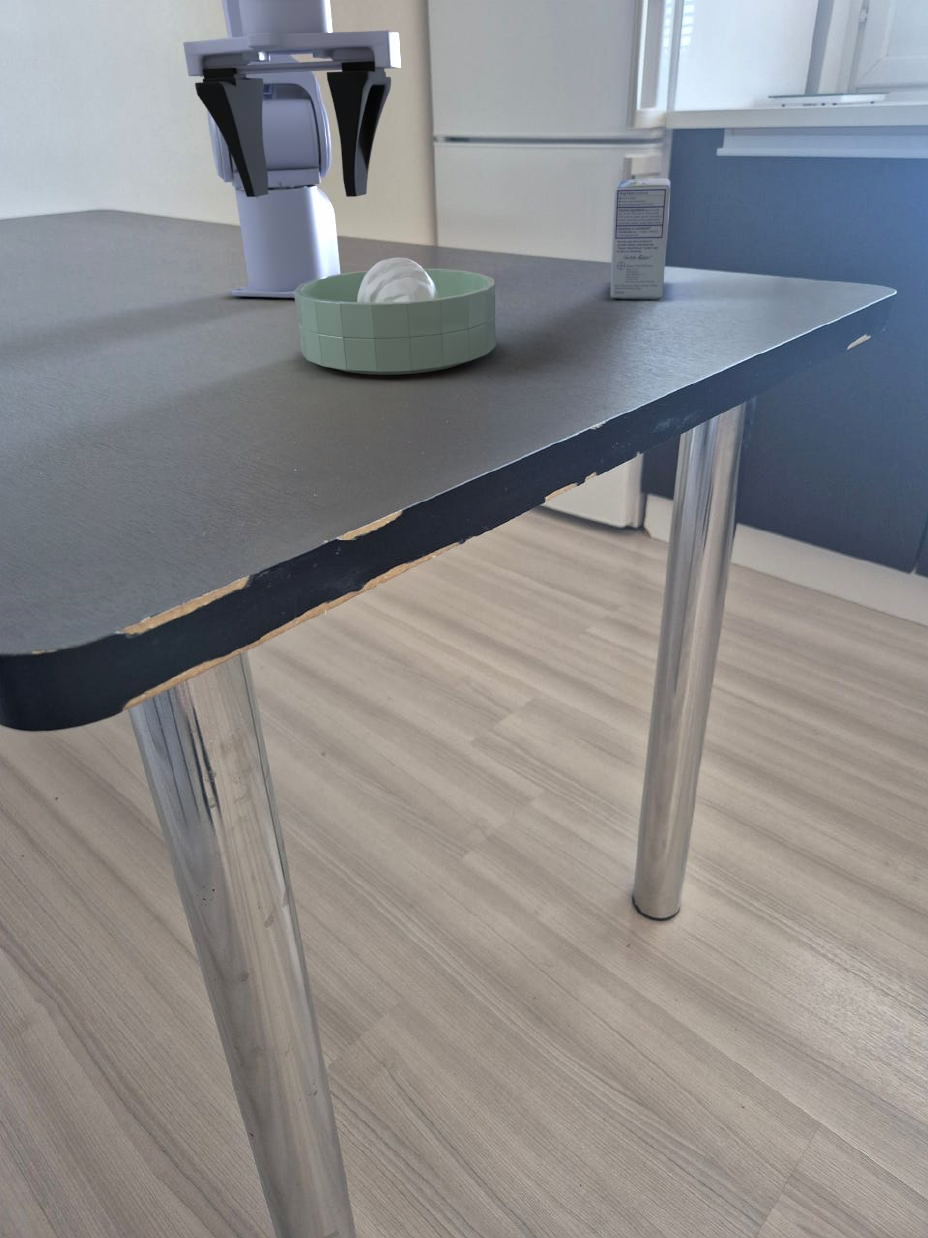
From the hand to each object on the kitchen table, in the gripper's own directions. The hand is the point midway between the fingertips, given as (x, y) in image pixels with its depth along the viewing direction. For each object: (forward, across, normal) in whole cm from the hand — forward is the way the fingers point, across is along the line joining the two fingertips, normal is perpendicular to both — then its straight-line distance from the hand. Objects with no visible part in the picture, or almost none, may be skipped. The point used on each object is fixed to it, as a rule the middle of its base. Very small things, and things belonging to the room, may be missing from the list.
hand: (306, 195), depth 59 cm
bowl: (+9, +8, -6) cm, 14 cm away
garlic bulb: (+9, +9, -6) cm, 14 cm away
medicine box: (+10, +22, +20) cm, 31 cm away
